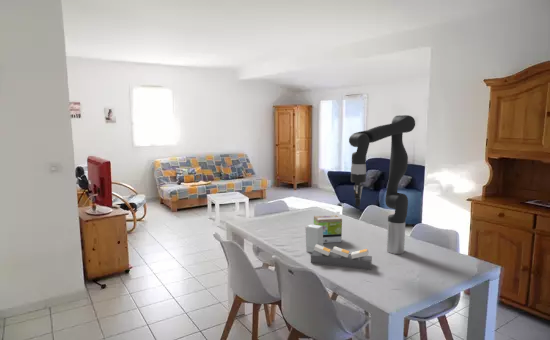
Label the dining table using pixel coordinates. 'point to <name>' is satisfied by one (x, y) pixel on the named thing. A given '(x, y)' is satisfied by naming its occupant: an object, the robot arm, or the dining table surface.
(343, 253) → the block
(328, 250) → the block
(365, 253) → the block
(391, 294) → the dining table surface
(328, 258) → the power strip
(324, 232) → the tea box
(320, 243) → the skincare box
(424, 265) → the dining table surface
